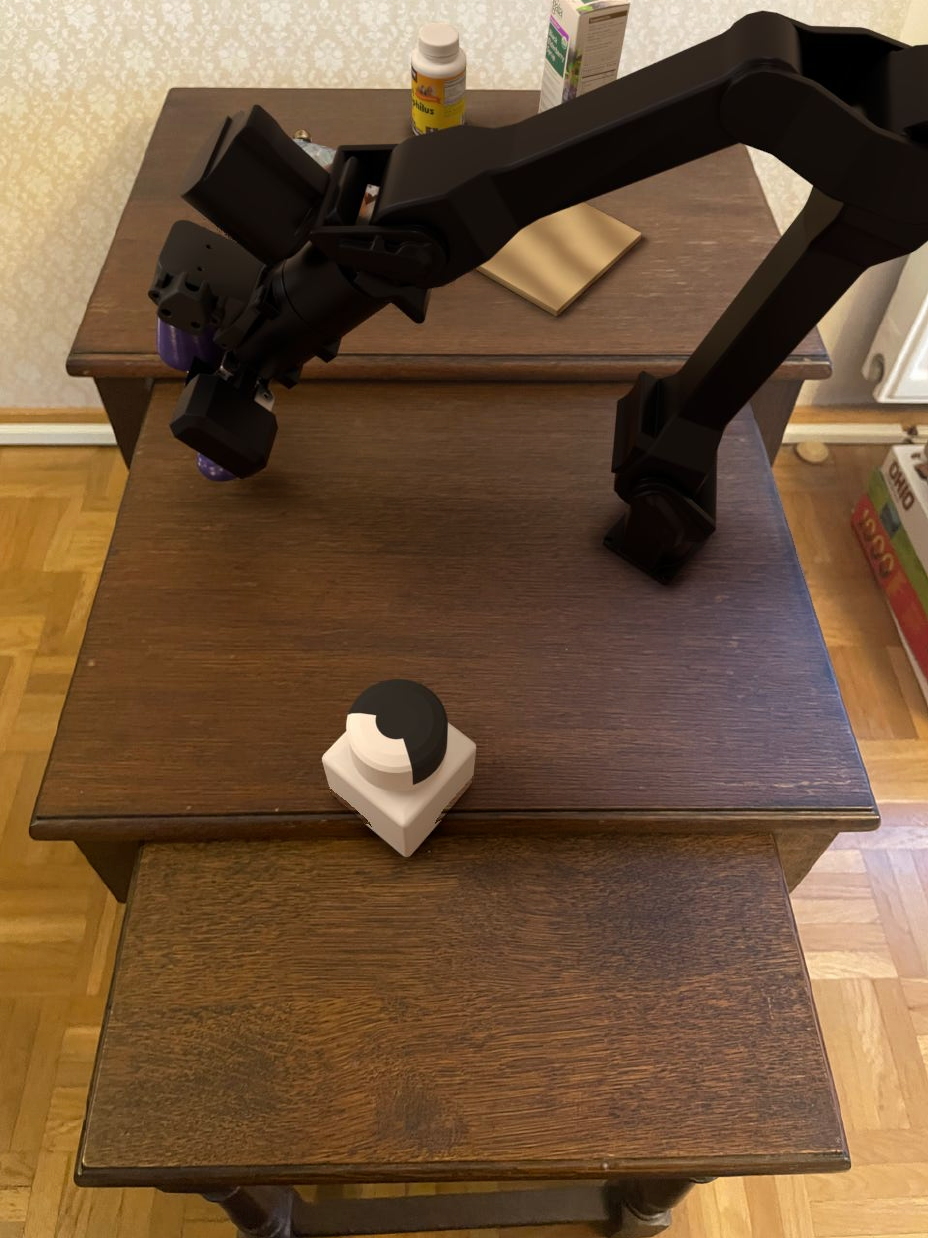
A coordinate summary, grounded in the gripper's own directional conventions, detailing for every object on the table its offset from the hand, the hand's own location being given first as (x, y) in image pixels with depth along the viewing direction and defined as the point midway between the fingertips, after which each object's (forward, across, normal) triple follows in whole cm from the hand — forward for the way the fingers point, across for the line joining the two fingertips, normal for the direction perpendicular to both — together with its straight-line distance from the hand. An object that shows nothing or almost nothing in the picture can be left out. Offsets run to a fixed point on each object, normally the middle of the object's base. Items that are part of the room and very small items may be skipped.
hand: (188, 395), depth 71 cm
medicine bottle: (-6, +24, +21) cm, 33 cm away
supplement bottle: (0, -49, +15) cm, 51 cm away
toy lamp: (+4, 0, +6) cm, 8 cm away
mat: (-9, -33, +24) cm, 42 cm away
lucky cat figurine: (+7, -30, +8) cm, 32 cm away
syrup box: (-10, -51, +25) cm, 58 cm away
